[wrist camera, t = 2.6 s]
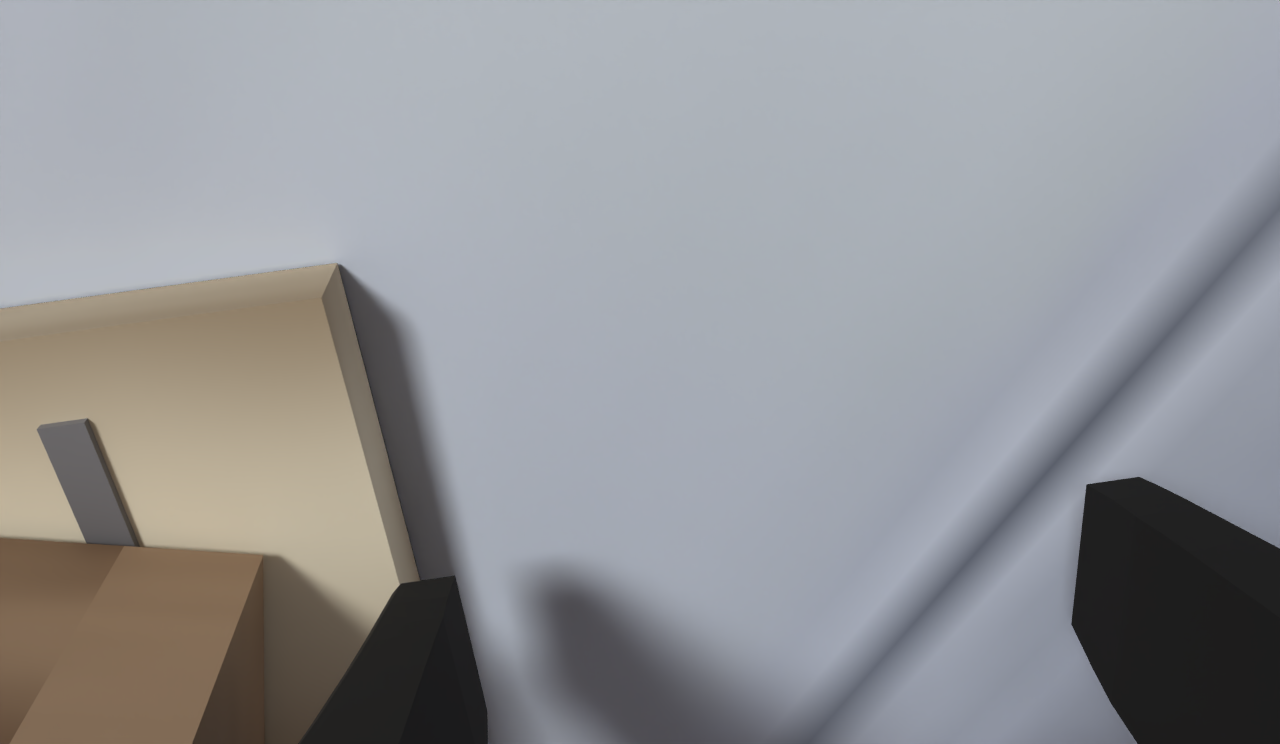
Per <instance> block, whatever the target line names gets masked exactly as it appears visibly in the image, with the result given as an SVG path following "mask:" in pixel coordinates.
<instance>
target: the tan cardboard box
mask: <svg viewBox="0 0 1280 744" xmlns="http://www.w3.org/2000/svg"><path fill="white" fill-rule="evenodd" d="M0 744H265V716H264V587H263V555H255V554H240V553H224V552H209V551H194V550H178V549H163V548H148V547H133V546H117V545H102V544H87V543H71V542H56V541H41V540H25V539H10V538H0Z"/></svg>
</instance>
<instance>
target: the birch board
mask: <svg viewBox="0 0 1280 744" xmlns="http://www.w3.org/2000/svg"><path fill="white" fill-rule="evenodd" d="M0 538H10V539H25V540H41V541H56V542H71V543H87V544H102V545H117V546H133V547H148V548H163V549H178V550H194V551H209V552H224V553H240V554H255V555H263V587H264V716H265V744H298V743H299V741H300V740H301V739H302V737H303V736H304V734H305V733H306V731H307V730H308V729H309V727H310V726H311V724H312V723H313V721H314V720H315V718H316V717H317V715H318V714H319V712H320V710H321V709H322V707H323V706H324V704H325V703H326V701H327V700H328V698H329V697H330V695H331V694H332V692H333V691H334V689H335V688H336V686H337V685H338V683H339V682H340V680H341V679H342V677H343V675H344V674H345V672H346V671H347V669H348V667H349V666H350V664H351V663H352V661H353V659H354V658H355V656H356V654H357V653H358V651H359V650H360V648H361V646H362V645H363V643H364V641H365V640H366V638H367V636H368V635H369V633H370V631H371V629H372V628H373V626H374V624H375V623H376V621H377V619H378V618H379V616H380V614H381V612H382V611H383V609H384V607H385V605H386V604H387V602H388V600H389V599H390V597H391V595H392V593H393V592H394V591H395V590H396V589H397V587H398V586H399V585H400V584H401V583H408V582H415V581H420V578H419V574H418V571H417V567H416V563H415V559H414V555H413V551H412V548H411V544H410V540H409V536H408V532H407V528H406V525H405V521H404V517H403V513H402V509H401V505H400V502H399V498H398V494H397V490H396V486H395V482H394V478H393V475H392V471H391V467H390V463H389V459H388V455H387V452H386V448H385V444H384V440H383V436H382V432H381V429H380V425H379V421H378V417H377V413H376V409H375V406H374V402H373V398H372V394H371V390H370V386H369V383H368V379H367V375H366V371H365V367H364V363H363V359H362V356H361V352H360V348H359V344H358V340H357V336H356V333H355V329H354V325H353V321H352V317H351V313H350V310H349V306H348V302H347V298H346V294H345V290H344V287H343V283H342V279H341V275H340V271H339V267H338V264H337V263H334V264H326V265H319V266H311V267H304V268H297V269H289V270H282V271H275V272H267V273H260V274H252V275H245V276H238V277H230V278H223V279H215V280H208V281H201V282H193V283H186V284H179V285H171V286H164V287H156V288H149V289H142V290H134V291H127V292H120V293H112V294H105V295H97V296H90V297H83V298H75V299H68V300H60V301H53V302H46V303H38V304H31V305H24V306H16V307H9V308H1V309H0Z"/></svg>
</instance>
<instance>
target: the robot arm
mask: <svg viewBox="0 0 1280 744" xmlns="http://www.w3.org/2000/svg"><path fill="white" fill-rule="evenodd" d="M1072 626H1073V628H1074V630H1075V633H1076V635H1077V637H1078V639H1079V641H1080V643H1081V645H1082V647H1083V649H1084V651H1085V653H1086V655H1087V657H1088V660H1089V662H1090V664H1091V666H1092V668H1093V670H1094V672H1095V674H1096V675H1097V677H1098V679H1099V681H1100V683H1101V685H1102V687H1103V689H1104V691H1105V693H1106V695H1107V696H1108V698H1109V700H1110V702H1111V704H1112V705H1113V707H1114V708H1115V710H1116V711H1117V713H1118V715H1119V716H1120V718H1121V719H1122V721H1123V722H1124V724H1125V725H1126V727H1127V728H1128V730H1129V731H1130V733H1131V734H1132V736H1133V737H1134V739H1135V740H1136V742H1137V743H1138V744H1280V549H1279V548H1278V547H1276V546H1274V545H1272V544H1270V543H1268V542H1266V541H1264V540H1262V539H1260V538H1258V537H1256V536H1255V535H1253V534H1251V533H1249V532H1247V531H1245V530H1243V529H1241V528H1239V527H1238V526H1236V525H1234V524H1232V523H1230V522H1228V521H1226V520H1224V519H1222V518H1221V517H1219V516H1217V515H1215V514H1213V513H1211V512H1209V511H1207V510H1205V509H1203V508H1201V507H1200V506H1198V505H1196V504H1194V503H1192V502H1190V501H1188V500H1186V499H1184V498H1182V497H1180V496H1178V495H1176V494H1174V493H1172V492H1170V491H1168V490H1166V489H1164V488H1162V487H1160V486H1158V485H1156V484H1154V483H1151V482H1149V481H1147V480H1145V479H1143V478H1140V477H1135V478H1129V479H1122V480H1115V481H1108V482H1101V483H1094V484H1087V486H1086V495H1085V504H1084V514H1083V523H1082V532H1081V541H1080V550H1079V560H1078V569H1077V578H1076V587H1075V596H1074V606H1073V615H1072ZM298 744H488V731H487V708H486V704H485V700H484V696H483V691H482V687H481V683H480V679H479V675H478V670H477V666H476V662H475V658H474V654H473V649H472V645H471V641H470V637H469V633H468V628H467V624H466V620H465V616H464V612H463V607H462V603H461V599H460V595H459V591H458V586H457V582H456V578H455V576H450V577H443V578H436V579H429V580H422V581H415V582H408V583H401V584H400V585H399V586H398V587H397V589H396V590H395V591H394V592H393V593H392V595H391V597H390V599H389V600H388V602H387V604H386V605H385V607H384V609H383V611H382V612H381V614H380V616H379V618H378V619H377V621H376V623H375V624H374V626H373V628H372V629H371V631H370V633H369V635H368V636H367V638H366V640H365V641H364V643H363V645H362V646H361V648H360V650H359V651H358V653H357V654H356V656H355V658H354V659H353V661H352V663H351V664H350V666H349V667H348V669H347V671H346V672H345V674H344V675H343V677H342V679H341V680H340V682H339V683H338V685H337V686H336V688H335V689H334V691H333V692H332V694H331V695H330V697H329V698H328V700H327V701H326V703H325V704H324V706H323V707H322V709H321V710H320V712H319V714H318V715H317V717H316V718H315V720H314V721H313V723H312V724H311V726H310V727H309V729H308V730H307V731H306V733H305V734H304V736H303V737H302V739H301V740H300V741H299V743H298Z"/></svg>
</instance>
